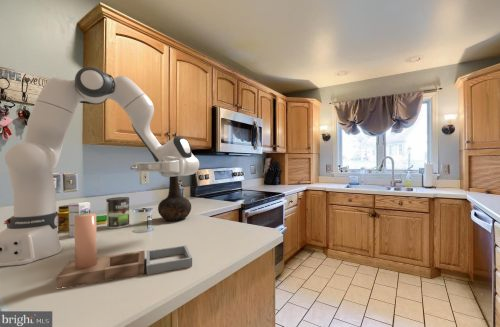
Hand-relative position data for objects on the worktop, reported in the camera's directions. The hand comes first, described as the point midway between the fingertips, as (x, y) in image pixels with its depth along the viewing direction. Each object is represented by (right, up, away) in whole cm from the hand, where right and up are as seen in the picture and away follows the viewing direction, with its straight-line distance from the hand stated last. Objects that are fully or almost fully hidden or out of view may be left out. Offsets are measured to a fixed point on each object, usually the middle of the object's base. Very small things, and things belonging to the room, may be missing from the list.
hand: (138, 167), depth 89 cm
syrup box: (-35, -31, +18) cm, 50 cm away
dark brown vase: (-1, -30, +47) cm, 56 cm away
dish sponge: (-41, -31, +44) cm, 68 cm away
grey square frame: (+16, -30, -14) cm, 36 cm away
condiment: (-47, -31, +26) cm, 62 cm away
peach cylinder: (-4, -27, -22) cm, 35 cm away
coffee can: (-26, -31, +33) cm, 52 cm away
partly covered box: (0, -30, -20) cm, 36 cm away
